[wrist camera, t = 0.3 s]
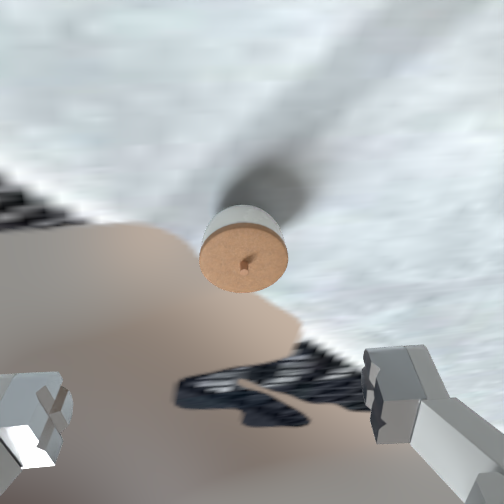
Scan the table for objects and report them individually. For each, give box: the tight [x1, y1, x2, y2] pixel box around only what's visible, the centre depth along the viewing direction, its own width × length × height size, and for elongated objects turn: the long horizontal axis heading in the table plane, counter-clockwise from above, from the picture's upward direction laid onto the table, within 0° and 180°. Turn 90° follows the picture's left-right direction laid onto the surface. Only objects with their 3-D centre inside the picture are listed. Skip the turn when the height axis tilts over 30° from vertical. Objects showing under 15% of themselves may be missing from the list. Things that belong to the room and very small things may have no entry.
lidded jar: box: [199, 205, 288, 293], centre depth 54 cm, size 11×11×9 cm
